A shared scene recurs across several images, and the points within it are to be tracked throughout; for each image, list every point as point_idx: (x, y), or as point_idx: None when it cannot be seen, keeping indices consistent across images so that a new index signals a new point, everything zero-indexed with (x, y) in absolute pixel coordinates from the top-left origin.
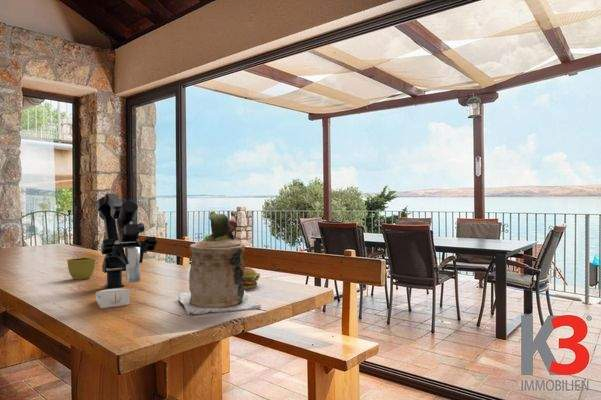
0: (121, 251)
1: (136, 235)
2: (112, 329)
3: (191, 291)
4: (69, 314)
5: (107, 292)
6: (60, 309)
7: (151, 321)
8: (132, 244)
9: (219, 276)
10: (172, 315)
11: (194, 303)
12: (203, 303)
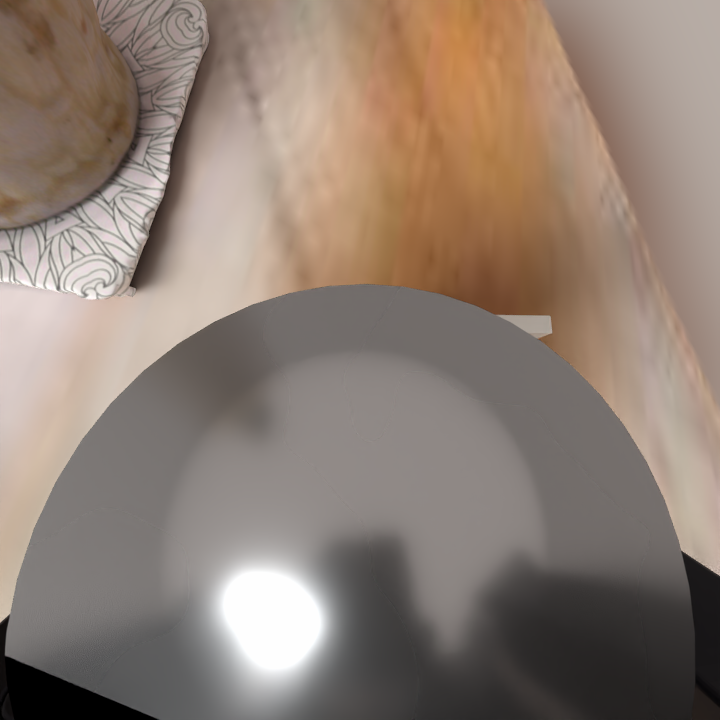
0: (705, 600)
1: None
2: (480, 34)
3: (92, 52)
4: (617, 302)
5: (512, 315)
6: (660, 415)
7: (351, 43)
8: None
9: None
10: (263, 69)
11: (132, 84)
12: (105, 33)
